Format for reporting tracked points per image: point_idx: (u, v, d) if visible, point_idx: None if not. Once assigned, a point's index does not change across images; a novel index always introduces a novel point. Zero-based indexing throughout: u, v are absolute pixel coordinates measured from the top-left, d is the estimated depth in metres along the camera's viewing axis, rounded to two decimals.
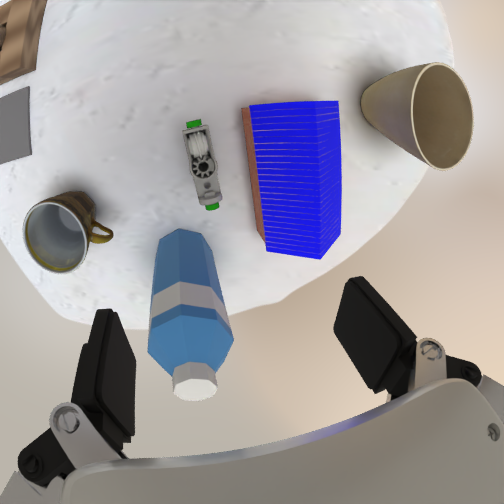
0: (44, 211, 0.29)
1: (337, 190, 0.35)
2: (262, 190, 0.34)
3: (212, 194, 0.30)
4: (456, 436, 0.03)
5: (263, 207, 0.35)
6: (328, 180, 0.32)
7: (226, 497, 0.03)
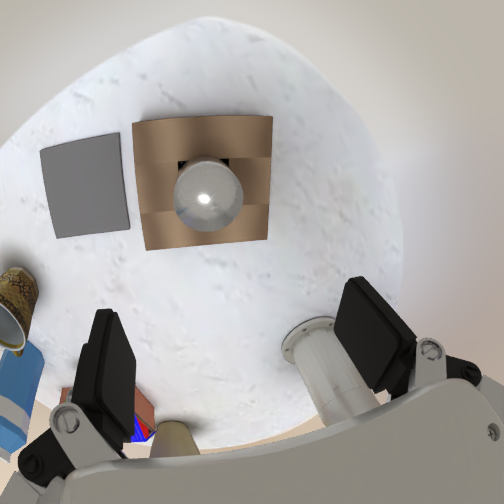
0: None
1: None
2: None
3: None
4: (456, 436, 0.03)
5: None
6: None
7: (226, 497, 0.03)
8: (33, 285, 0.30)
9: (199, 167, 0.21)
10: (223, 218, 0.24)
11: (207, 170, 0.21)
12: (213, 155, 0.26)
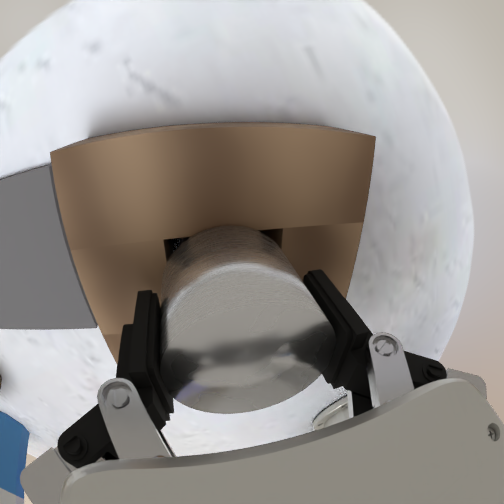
0: None
1: None
2: None
3: None
4: (456, 436, 0.03)
5: None
6: None
7: (226, 497, 0.03)
8: None
9: (228, 313, 0.07)
10: (282, 392, 0.10)
11: (253, 318, 0.07)
12: (247, 223, 0.12)
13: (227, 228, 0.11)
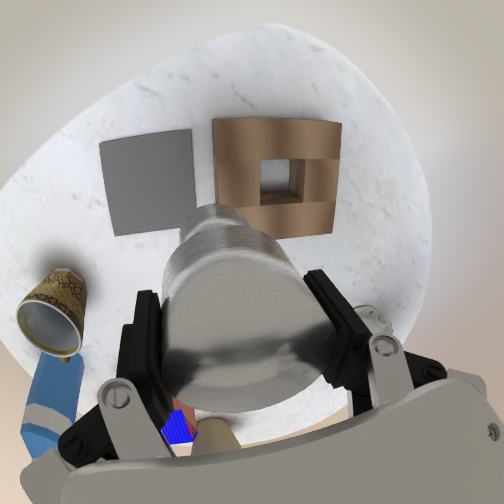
0: None
1: None
2: None
3: None
4: (456, 436, 0.03)
5: None
6: None
7: (226, 497, 0.03)
8: (83, 286, 0.33)
9: (230, 312, 0.07)
10: (283, 391, 0.10)
11: (254, 317, 0.07)
12: (292, 155, 0.28)
13: (228, 227, 0.11)
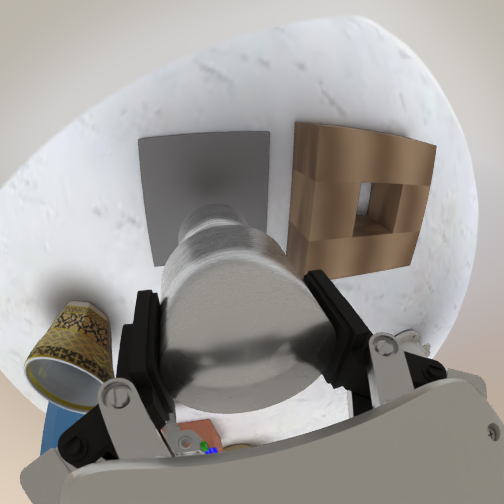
0: None
1: None
2: None
3: None
4: (456, 436, 0.03)
5: None
6: None
7: (226, 497, 0.03)
8: (108, 326, 0.26)
9: (228, 313, 0.07)
10: (282, 391, 0.09)
11: (253, 318, 0.07)
12: (391, 179, 0.22)
13: (227, 227, 0.11)
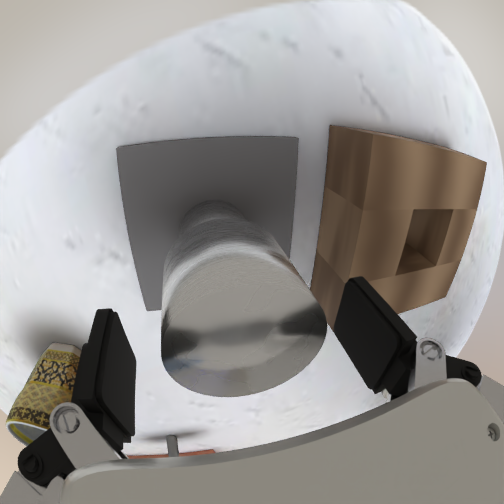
0: None
1: None
2: None
3: None
4: (456, 436, 0.03)
5: None
6: None
7: (226, 497, 0.03)
8: None
9: (225, 292, 0.08)
10: (277, 375, 0.10)
11: (247, 298, 0.08)
12: (443, 204, 0.16)
13: (225, 220, 0.12)
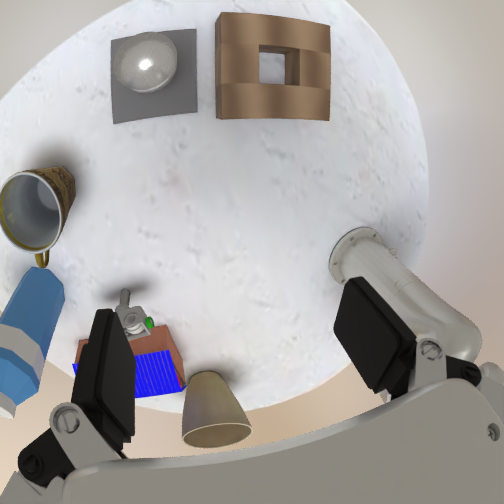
0: None
1: None
2: None
3: None
4: (456, 436, 0.03)
5: None
6: None
7: (226, 497, 0.03)
8: (72, 182, 0.29)
9: (137, 35, 0.17)
10: (158, 75, 0.19)
11: (144, 36, 0.17)
12: (287, 44, 0.25)
13: None
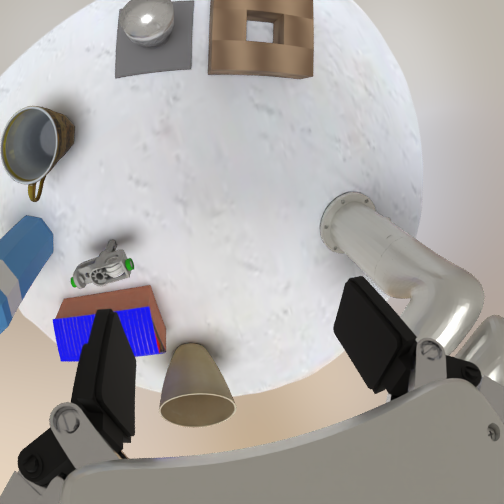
0: None
1: None
2: (92, 316, 0.39)
3: (82, 281, 0.33)
4: (456, 436, 0.03)
5: (81, 317, 0.39)
6: None
7: (226, 497, 0.03)
8: (73, 128, 0.29)
9: None
10: (156, 25, 0.19)
11: None
12: (273, 10, 0.25)
13: None
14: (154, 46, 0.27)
